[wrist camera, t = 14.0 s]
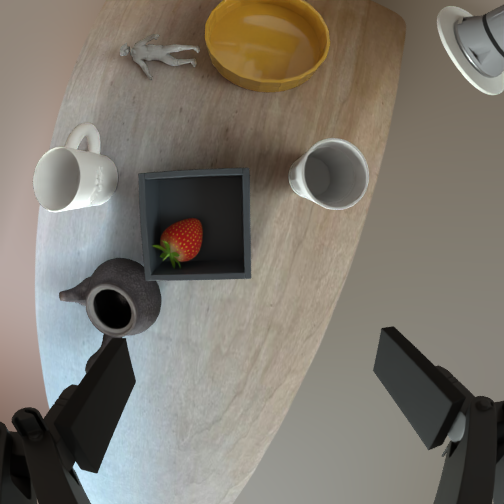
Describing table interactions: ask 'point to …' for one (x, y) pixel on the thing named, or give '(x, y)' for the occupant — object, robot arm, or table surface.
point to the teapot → (117, 300)
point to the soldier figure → (156, 53)
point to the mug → (75, 173)
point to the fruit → (181, 241)
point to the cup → (330, 174)
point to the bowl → (266, 43)
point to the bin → (207, 212)
